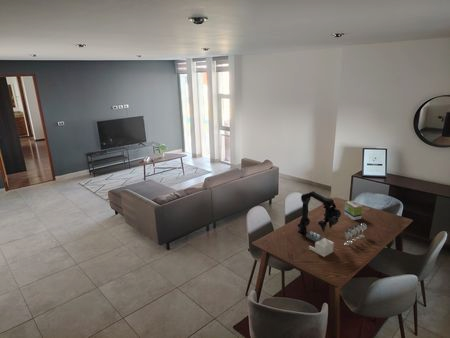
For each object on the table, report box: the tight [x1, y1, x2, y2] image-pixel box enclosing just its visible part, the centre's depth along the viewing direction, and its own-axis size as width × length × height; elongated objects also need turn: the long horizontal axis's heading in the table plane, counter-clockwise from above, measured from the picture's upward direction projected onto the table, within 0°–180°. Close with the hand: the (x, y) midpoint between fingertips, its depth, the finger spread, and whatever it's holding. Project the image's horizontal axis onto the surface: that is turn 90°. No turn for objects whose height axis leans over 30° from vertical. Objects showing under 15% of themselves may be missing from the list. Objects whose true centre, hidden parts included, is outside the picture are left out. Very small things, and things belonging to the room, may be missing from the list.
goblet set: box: [343, 222, 368, 246], centre depth 274 cm, size 28×6×13 cm, turn 124°
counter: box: [308, 237, 335, 258], centre depth 259 cm, size 15×12×9 cm
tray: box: [305, 230, 324, 243], centre depth 278 cm, size 14×6×6 cm, turn 35°
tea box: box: [343, 200, 363, 221], centre depth 317 cm, size 15×10×15 cm, turn 17°
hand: (326, 229), depth 266 cm, fingers open, 9 cm apart
